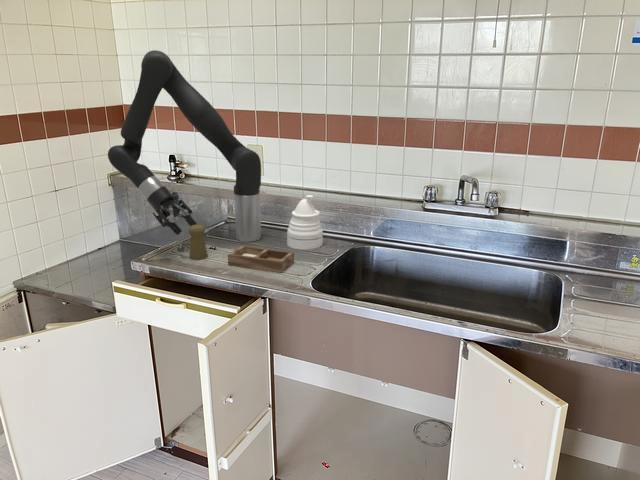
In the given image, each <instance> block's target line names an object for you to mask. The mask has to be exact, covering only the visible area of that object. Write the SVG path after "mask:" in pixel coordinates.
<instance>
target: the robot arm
mask: <svg viewBox="0 0 640 480" xmlns="http://www.w3.org/2000/svg"><path fill="white" fill-rule="evenodd" d="M140 66H141V70H140V71H141V72H140V76H139V81H138V86H137V89H136V92H135V95H134V98H133V100H132V101H131V102H132V103H131V104H130V106H129V108H128V112H127V113H126V116H125V118H124V121H123V123H122V126H121V128H120V129H121V130H120V136H121V138H123V139H124V141H123V142H124V143H123V145H113V146H111V147H110V148H109V150H108V151H107V159H108V161H109V163H110V164H111V165H112V167H114V169H116V171H118V172H119V173H121V174H122V175H123V176H124V177H126V178H127V179H129V180H130V181H131V182H132V183H133V185H134V186H135V187H136V188H137V189H138V191H139V192H140V194H141V195H142V196H143V198H144V199H145V200H146V201H147V202H148V203H149V205H150V206H151V207H152V208H153V209H154V211H153V212H152V215H153V217H155V219H156V220H157V221H158V223H159V224H160V225H161V227H163V228H166V227H168V228H169V229H170V230H172V232H173V233H174V234H176V235H177V236H178V235H180V234H181V233H182V232H183V230H182V228H180V226H179V225H178V224H177V223H176V222H175V220H174V218H176V217H177V218H179V219H180V218H182V219H184V220H185V222H186V223H187V224H188V225H189V227H190V226H192V225H198V224H197V222H196V220H195V219H194V218H193V217H192V216H191V215H192V214H193V211H192V209H191V208H190V207H189V206H188V205H187V203H185V202H184V201H183V199H179V201H175V200H174V195H173V194H172V193H171V191H170V190H169V189H168V188H167V186H166V185H164V183H163V182H162V181H161V180H160V179H159V178H158V177H157V176H155V174H154V173H153V172H152V171H151V169H149V167H148V166H147V165H145V164H143V163H138V161H139V160H140V157H141V155H142V154H141V153H142V146H143V138H144V136H145V132H146V130H147V128H148V124H149V122H150V119H151V116H152V113H153V109H154V108H155V104H156V101H157V99H158V97H159V95H160V93H161V91H162V89H163V90H164V91H165V92H167V94H168V95H169V96H170V97H171V99H172V100H173V102H175V104H176V106H177V108H178V109H179V110H180V112H181V113H182V115H183V116H184V117H185V118H186V119H187V121H188V122H189V123H190V124H191V126H193V127H194V128H195V129H196V130H197V132H199V134H200V135H202V136H203V137H204V139H206V140H207V141H208V142H210V143H211V144H212V145H213V146H214V147H215V148H216V149H217V150H218V151H219V152H220V153H221V155H222V156H223V157H224V159H225V160H226V161H227V162H228V163H229V165H230V166H231V167H232V170H234V171H235V184H234V185H233V198H234V199H233V201H234V222H235V224H234V225H235V239H236V240H237V241H239V242H255V241H258V240H260V239H261V238H262V223H261V222H262V216H261V201H260V200H261V199H260V198H261V197H260V195H261V194H260V189H261V185H262V162H261V158H260V155H259V154H258V153H257V152H256V151H254V150H252V149H250V148H248V147H246V146H245V145H244V144H243V143H241V141H239V139H238V138H236V136H234V134H233V133H232V131H231V130H230V129H229V127H228V125H227V124H226V122H225V120H224V119H223V117H222V115H220V113H219V111H217V110H216V109H215V108H214V106H213V105H212V104H211V103H210V102H209V101H208V100H207V99H206V98H205V97H204V95H203V94H201V93H200V92H199V91H198V90H197V89H196V88H195V87H194V86H193V85H191V84H190V83H189V82H188V80H186V78H185V77H184V76H183V75H182V74H181V72H180V71H179V70H178V68H177V66H176V65H175V64H174V63H173V61H172V60H171V59H170V57H169V56H168V55H167V54H166V53H164V52H163V51H161V50H150V51H148V52H146V53H145V54H144V56H143V57H142V59H141V65H140ZM186 210H187V211H186Z"/></svg>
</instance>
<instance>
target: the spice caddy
mask: <svg viewBox="0 0 640 480" xmlns="http://www.w3.org/2000/svg"><path fill="white" fill-rule="evenodd" d="M294 263H295V252H294V251H287V250H280V249H271V248H265V247H258V246H250V245H245V244H244V245H243V244H242V245H241V246H239V247H237V248H236V249H234V250H233V251H231V252H229V253H228V254H227V265H228V266H234V267H240V268H245V269H252V270H253V269H254V270H260V271H266V272H273V273H279V274H282V273H283V272H285V271H286V270H287V269H288V268H289V267H291V265H293V264H294Z"/></svg>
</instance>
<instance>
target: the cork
mask: <svg viewBox="0 0 640 480" xmlns="http://www.w3.org/2000/svg"><path fill="white" fill-rule="evenodd" d="M188 233H189V235H190V243H189V244H190V245H189V259H190V260H193V261H200V260H206V259H207V258H208V257H209V256H208V251H207V246H206V241H205V236H204V235H205V233H206V229H205V226H204V225H202V224H197V225H192V226H190V225H189V228H188Z"/></svg>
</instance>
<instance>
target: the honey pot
mask: <svg viewBox="0 0 640 480" xmlns="http://www.w3.org/2000/svg"><path fill="white" fill-rule="evenodd" d="M313 199H314V195H312V194H311V195H309V194H308V195H305V198H302V199H301V200H299V202H298V204H297V205H296V206H295V208H294V209H293V211H292V212H291V215H292V216H291V219H290V221H289V224H288V228H287V230H286V231H287V233H286V234H287V235H286V236H287V237H286V239H287V240H286V241H287V242H286V244H287V247H290V248H291V249H295V250H301V251H302V250H303V251H305V250H306V251H307V250H314V248H315V249H319V248H321V247H322V246H323V243H324V237H323V236H324V235H323V234H324V233H323V232H324V231H323V227H322V224H321V222H320V221H321V220H320V219H319V216H320V211H319V210H317V209H316V208H315V207H314V205H313V204H312V201H313ZM320 246H321V247H320ZM318 247H319V248H318Z"/></svg>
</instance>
